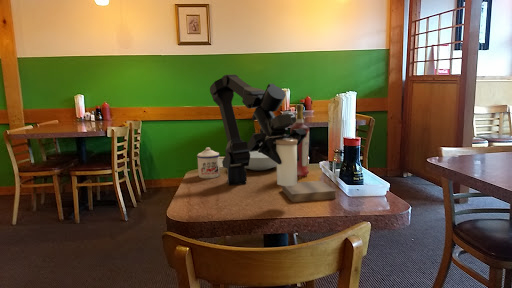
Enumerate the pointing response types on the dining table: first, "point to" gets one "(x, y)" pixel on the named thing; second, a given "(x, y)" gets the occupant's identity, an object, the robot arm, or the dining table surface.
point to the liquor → (302, 144)
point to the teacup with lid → (209, 164)
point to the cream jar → (287, 161)
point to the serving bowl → (260, 161)
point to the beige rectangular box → (309, 191)
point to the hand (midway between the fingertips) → (289, 162)
